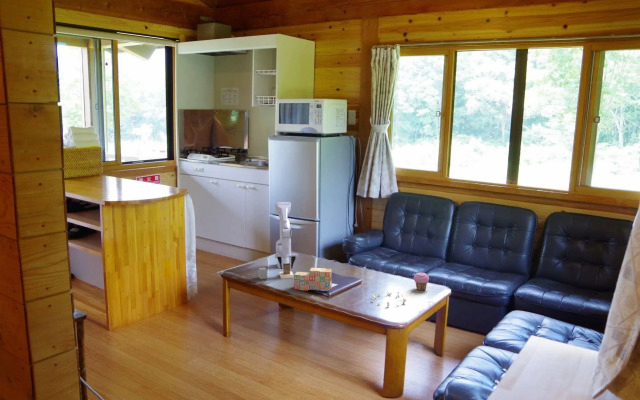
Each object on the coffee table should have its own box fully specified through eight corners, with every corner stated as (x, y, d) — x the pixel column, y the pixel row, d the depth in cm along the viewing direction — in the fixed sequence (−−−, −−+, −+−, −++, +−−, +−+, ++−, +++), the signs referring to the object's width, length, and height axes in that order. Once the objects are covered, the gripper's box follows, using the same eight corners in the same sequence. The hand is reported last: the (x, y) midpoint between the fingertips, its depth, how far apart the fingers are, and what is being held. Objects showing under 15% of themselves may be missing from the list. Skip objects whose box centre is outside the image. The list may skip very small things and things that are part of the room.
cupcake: (416, 292, 306) (417, 275, 304) (410, 287, 314) (411, 271, 313) (431, 291, 308) (431, 274, 306) (424, 286, 316) (425, 270, 314)
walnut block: (283, 272, 336) (283, 263, 335) (289, 272, 336) (289, 263, 335) (283, 274, 332) (283, 265, 331) (290, 274, 332) (290, 265, 331)
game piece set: (413, 301, 292) (413, 294, 291) (391, 311, 278) (392, 304, 277) (385, 292, 305) (385, 286, 305) (363, 301, 291) (363, 295, 291)
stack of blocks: (294, 289, 309) (294, 269, 307) (296, 286, 315) (296, 266, 313) (330, 292, 306) (330, 271, 304) (331, 288, 312) (332, 268, 310)
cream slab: (279, 275, 338) (279, 271, 337) (291, 274, 339) (291, 271, 339) (281, 279, 330) (280, 275, 329) (293, 278, 331) (293, 274, 331)
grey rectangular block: (258, 277, 332) (258, 268, 331) (264, 276, 334) (264, 267, 333) (260, 279, 329) (260, 269, 328) (266, 278, 330) (266, 269, 329)
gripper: (275, 249, 326) (275, 270, 329) (298, 248, 329) (298, 269, 331) (274, 246, 333) (274, 267, 335) (297, 245, 335) (297, 266, 338)
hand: (286, 268), depth 334 cm, fingers open, 6 cm apart
